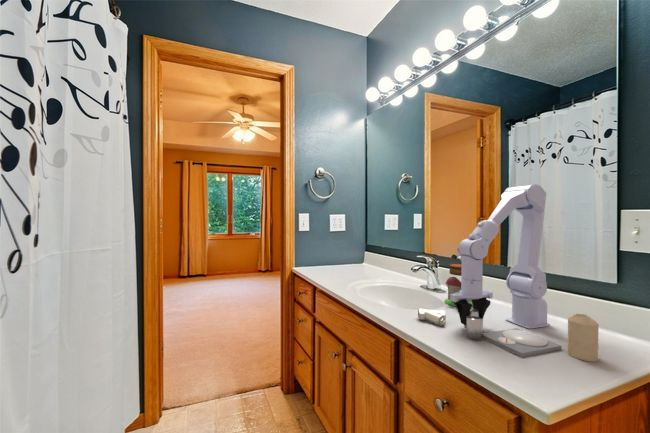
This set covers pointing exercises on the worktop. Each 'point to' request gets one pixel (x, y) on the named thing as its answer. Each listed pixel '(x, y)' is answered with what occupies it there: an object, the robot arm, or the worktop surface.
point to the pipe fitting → (432, 316)
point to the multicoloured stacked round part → (454, 283)
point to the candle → (583, 337)
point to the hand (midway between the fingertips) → (471, 323)
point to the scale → (521, 342)
